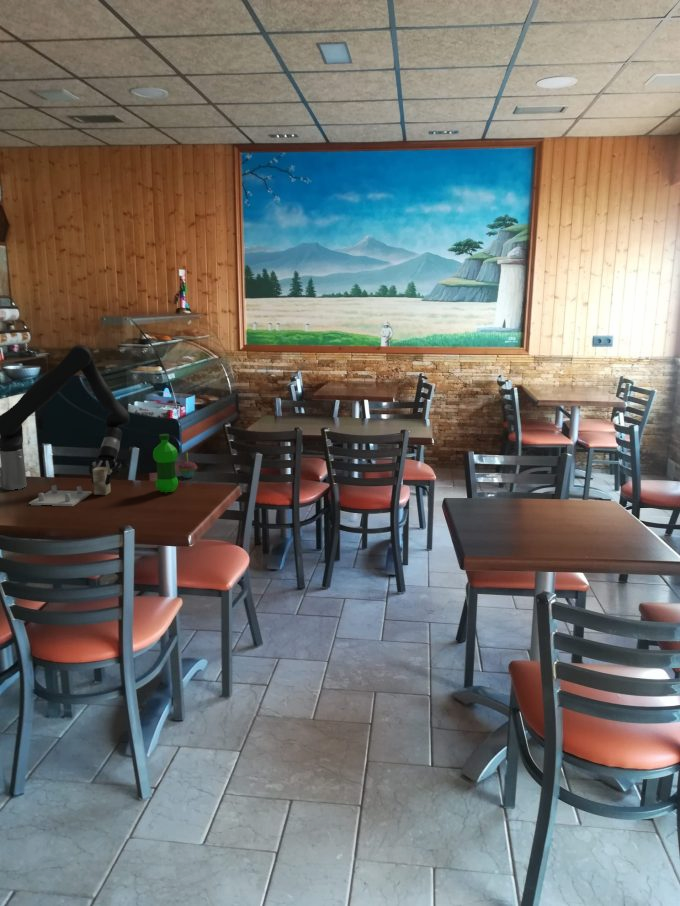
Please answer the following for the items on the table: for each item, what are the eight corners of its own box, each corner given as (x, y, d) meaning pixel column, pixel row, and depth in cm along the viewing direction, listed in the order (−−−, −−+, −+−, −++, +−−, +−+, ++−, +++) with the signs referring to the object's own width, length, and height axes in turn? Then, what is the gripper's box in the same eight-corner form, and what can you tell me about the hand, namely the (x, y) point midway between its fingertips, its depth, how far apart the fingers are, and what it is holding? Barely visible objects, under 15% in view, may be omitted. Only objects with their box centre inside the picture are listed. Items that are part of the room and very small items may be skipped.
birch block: (94, 494, 288) (92, 469, 285) (99, 491, 293) (97, 466, 290) (106, 495, 287) (104, 469, 285) (110, 491, 292) (109, 466, 290)
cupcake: (178, 475, 321) (177, 450, 318) (196, 473, 324) (195, 449, 321) (179, 479, 313) (178, 454, 310) (198, 478, 316) (197, 453, 313)
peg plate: (29, 505, 274) (28, 495, 273) (50, 492, 292) (49, 483, 291) (72, 506, 273) (71, 496, 272) (91, 493, 290) (90, 484, 289)
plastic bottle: (159, 487, 299) (156, 432, 294) (182, 488, 298) (180, 432, 293) (151, 494, 290) (147, 436, 284) (175, 495, 289) (172, 437, 283)
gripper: (90, 444, 293) (80, 479, 284) (122, 445, 292) (113, 479, 283) (96, 453, 300) (86, 487, 291) (128, 454, 299) (119, 488, 290)
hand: (100, 483), depth 287 cm, fingers closed on birch block, 5 cm apart
